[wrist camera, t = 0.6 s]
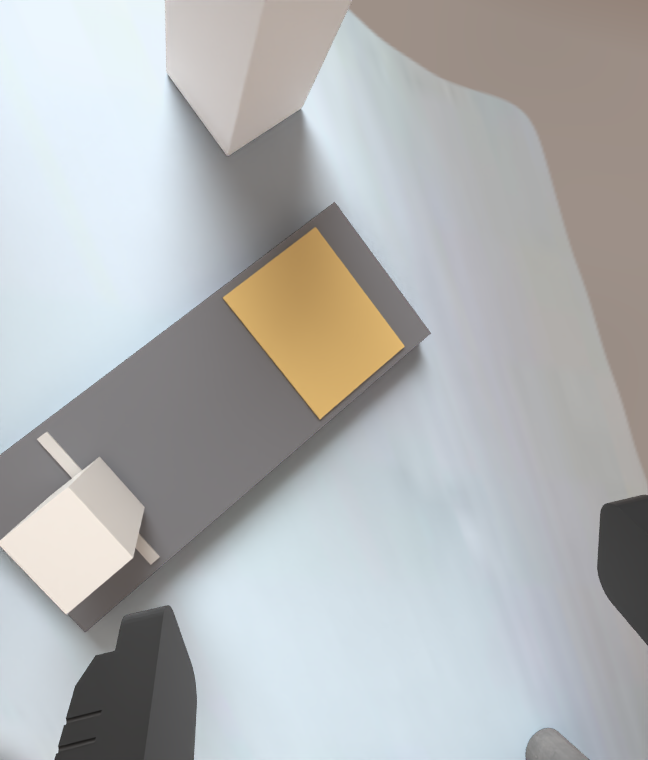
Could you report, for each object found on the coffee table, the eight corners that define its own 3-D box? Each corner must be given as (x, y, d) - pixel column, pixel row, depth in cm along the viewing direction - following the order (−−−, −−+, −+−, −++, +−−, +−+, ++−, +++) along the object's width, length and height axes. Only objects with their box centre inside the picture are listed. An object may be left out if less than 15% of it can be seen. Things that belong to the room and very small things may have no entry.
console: (-35, 485, 30) (-51, 492, 28) (325, 212, 36) (335, 200, 33) (90, 617, 32) (84, 634, 30) (417, 335, 37) (432, 332, 35)
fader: (51, 495, 29) (-3, 542, 20) (99, 456, 29) (68, 486, 21) (98, 545, 29) (66, 614, 20) (144, 507, 30) (133, 557, 21)
